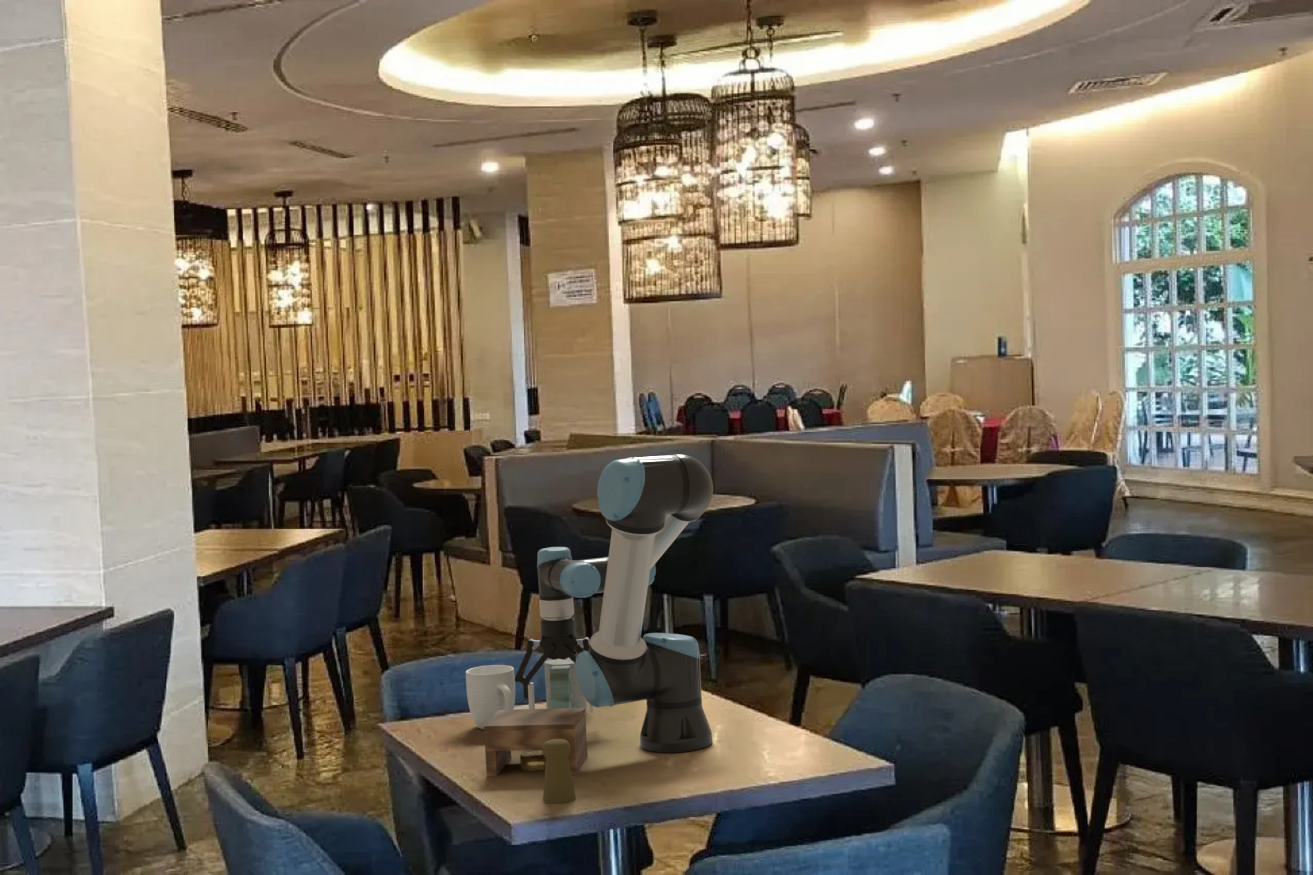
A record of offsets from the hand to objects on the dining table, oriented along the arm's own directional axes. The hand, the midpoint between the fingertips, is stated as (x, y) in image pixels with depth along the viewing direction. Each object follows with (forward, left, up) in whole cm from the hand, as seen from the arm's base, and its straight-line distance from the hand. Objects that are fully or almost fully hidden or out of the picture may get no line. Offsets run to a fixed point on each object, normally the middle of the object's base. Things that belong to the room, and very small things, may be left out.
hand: (562, 712), depth 322 cm
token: (-10, +28, -4) cm, 30 cm away
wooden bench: (-10, +28, -4) cm, 30 cm away
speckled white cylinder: (+8, -15, -4) cm, 18 cm away
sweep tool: (-4, +10, -4) cm, 11 cm away
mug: (+17, +2, -4) cm, 17 cm away
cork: (-26, +47, -4) cm, 54 cm away
